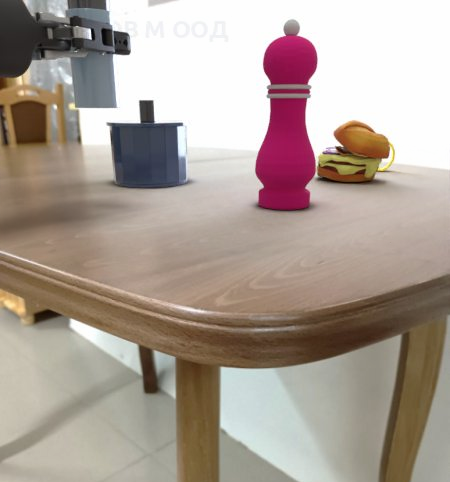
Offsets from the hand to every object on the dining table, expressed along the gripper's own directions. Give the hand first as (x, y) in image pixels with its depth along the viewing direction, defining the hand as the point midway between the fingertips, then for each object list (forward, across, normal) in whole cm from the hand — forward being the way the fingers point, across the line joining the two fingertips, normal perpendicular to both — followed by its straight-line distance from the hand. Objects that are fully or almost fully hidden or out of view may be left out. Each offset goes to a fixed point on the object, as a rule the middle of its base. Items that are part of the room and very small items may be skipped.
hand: (109, 45), depth 55 cm
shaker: (-3, 0, +6) cm, 7 cm away
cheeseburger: (+35, -16, +18) cm, 43 cm away
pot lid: (+14, +8, +9) cm, 19 cm away
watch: (+48, -16, +18) cm, 54 cm away
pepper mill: (+10, -18, +18) cm, 27 cm away
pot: (+14, +8, +18) cm, 24 cm away
